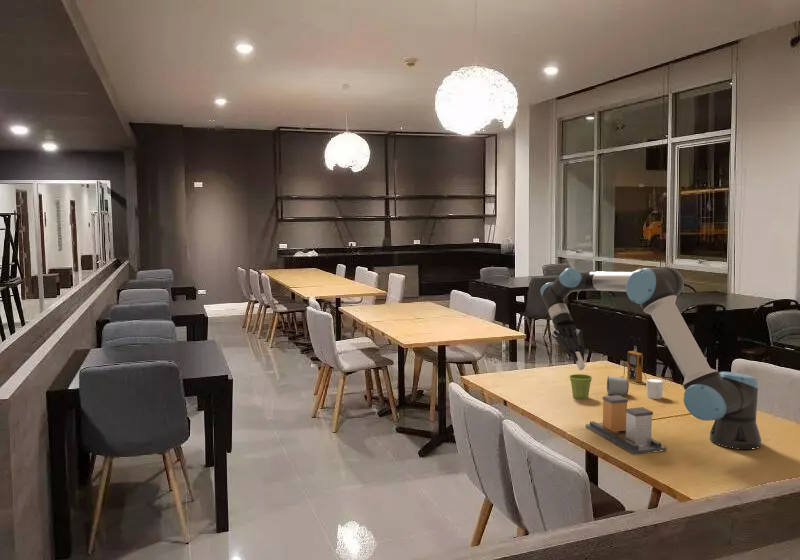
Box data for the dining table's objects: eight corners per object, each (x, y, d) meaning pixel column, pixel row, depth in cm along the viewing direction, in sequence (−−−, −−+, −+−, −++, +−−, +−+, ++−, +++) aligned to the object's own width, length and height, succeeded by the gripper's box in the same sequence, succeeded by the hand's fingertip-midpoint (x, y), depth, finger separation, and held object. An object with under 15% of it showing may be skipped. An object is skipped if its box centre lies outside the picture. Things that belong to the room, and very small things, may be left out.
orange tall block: (601, 427, 229) (602, 396, 228) (617, 425, 231) (618, 395, 230) (610, 432, 224) (611, 400, 223) (627, 430, 226) (628, 399, 225)
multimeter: (608, 378, 303) (609, 335, 301) (627, 376, 306) (628, 334, 304) (628, 386, 289) (630, 341, 287) (647, 384, 292) (649, 340, 290)
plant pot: (564, 396, 273) (564, 376, 272) (577, 392, 279) (577, 372, 279) (583, 401, 266) (584, 380, 265) (596, 397, 272) (597, 376, 272)
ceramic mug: (629, 397, 272) (629, 379, 271) (608, 396, 273) (608, 378, 273) (624, 391, 282) (625, 373, 282) (605, 390, 284) (605, 372, 283)
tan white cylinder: (667, 398, 270) (667, 381, 270) (653, 400, 268) (654, 383, 267) (654, 394, 277) (655, 377, 276) (641, 395, 274) (642, 379, 273)
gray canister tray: (585, 427, 234) (586, 394, 233) (615, 424, 238) (615, 391, 236) (633, 454, 207) (634, 417, 206) (665, 450, 211) (667, 414, 209)
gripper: (572, 321, 265) (593, 372, 251) (542, 323, 262) (563, 374, 248) (579, 310, 260) (601, 361, 245) (549, 312, 256) (570, 363, 242)
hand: (582, 368), depth 247 cm, fingers closed
